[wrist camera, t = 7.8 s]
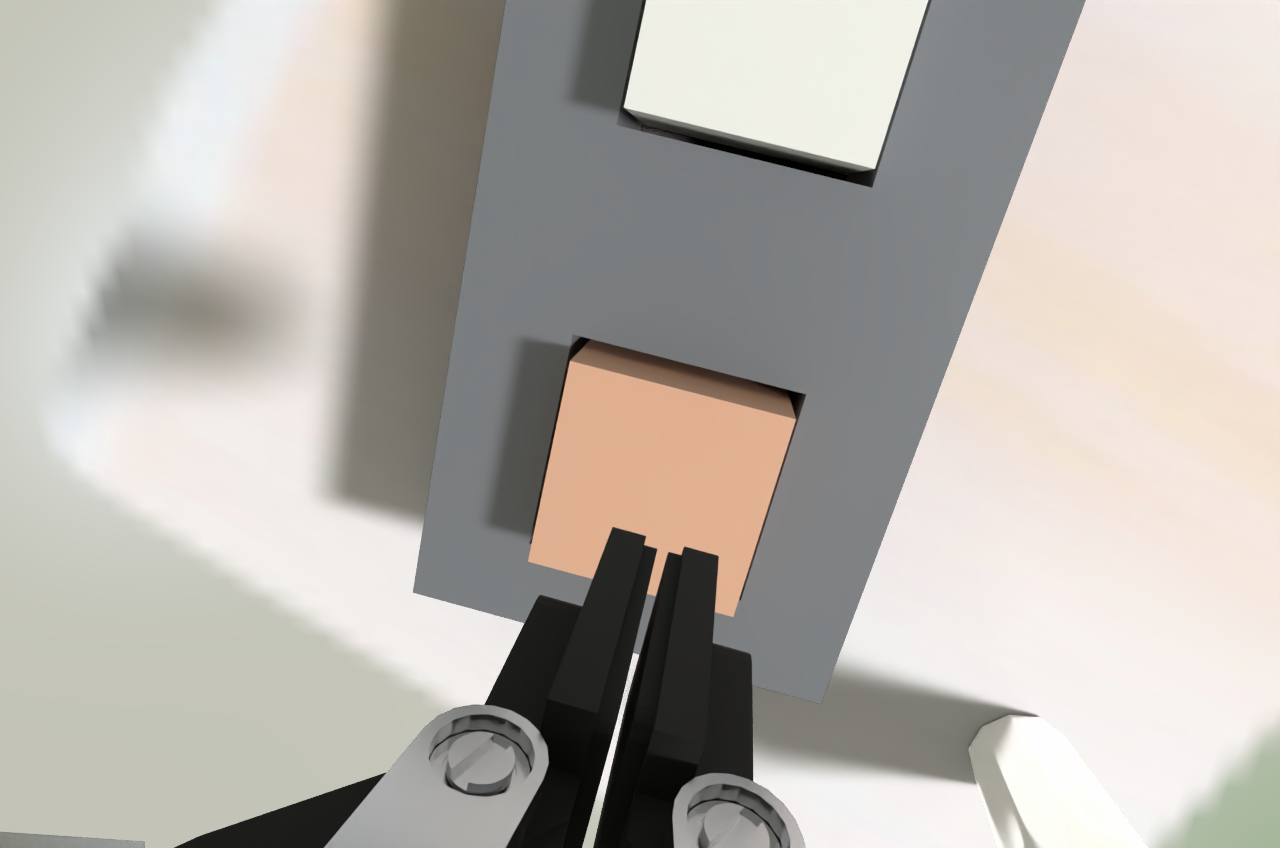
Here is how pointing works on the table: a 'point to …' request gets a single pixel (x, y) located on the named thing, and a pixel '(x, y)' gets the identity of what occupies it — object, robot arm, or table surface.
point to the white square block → (776, 74)
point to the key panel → (724, 300)
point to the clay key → (660, 464)
